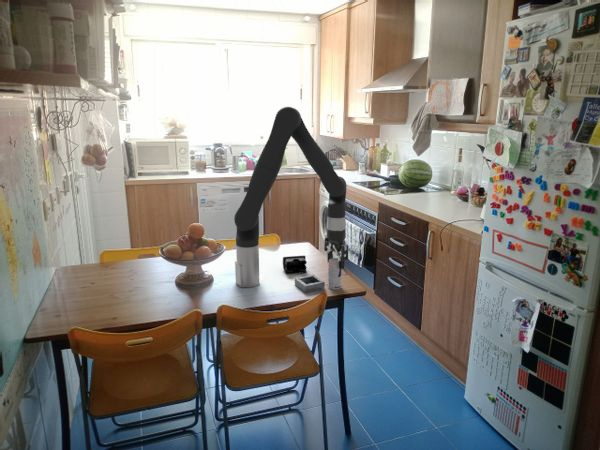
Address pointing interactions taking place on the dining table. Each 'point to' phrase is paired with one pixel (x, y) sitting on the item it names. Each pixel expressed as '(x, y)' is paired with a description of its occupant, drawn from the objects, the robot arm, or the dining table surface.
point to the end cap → (294, 264)
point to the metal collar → (306, 287)
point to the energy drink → (334, 274)
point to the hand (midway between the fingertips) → (335, 265)
